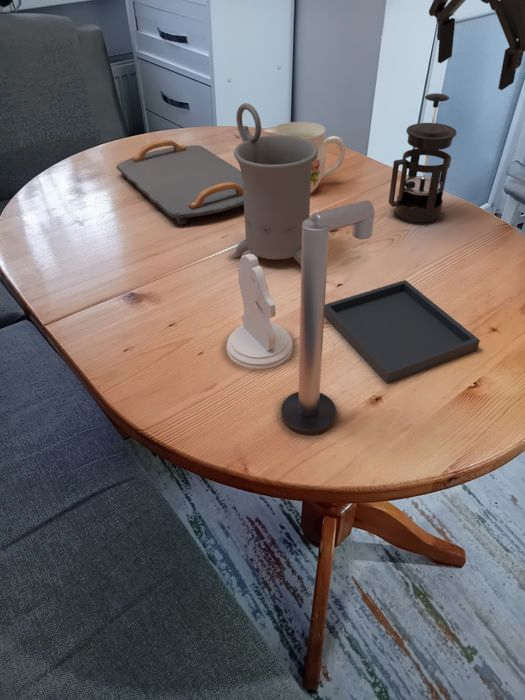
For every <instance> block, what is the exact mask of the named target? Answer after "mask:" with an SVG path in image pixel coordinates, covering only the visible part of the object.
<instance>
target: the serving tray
mask: <svg viewBox="0 0 525 700" xmlns="http://www.w3.org/2000/svg"><path fill="white" fill-rule="evenodd" d="M162 147H169V148H163V149H158V148H162ZM154 149H157V150H154ZM152 150H153V151H152ZM115 167H116V169H117V170H118V171H119V172H120V173H121V174H122V175H123V176H124V177H125V178H126V179H127V180H128V181H129V182H130V183H132V184H133V185H135V186H136V188H137V189H138V190H139V191H140V192H142V193H143V194H144V195H145V196H147V198H148V199H149V201H150V202H151V203H154V204H155V205H157V207H159V208H160V209H161V210H162V211H163V212H164V213H165V214H166V215H168V217H170V218H171V219H176V223H177V224H178V225H179V226H181V227H183V226H186V225H187V223H188V218H195V217H200V216H201V217H202V216H207V215H211V214H217V213H222V212H226V211H228V210H231V209H235V208H238V207H241V206H244V199H243V183H242V174H241V169H238V168H237V167H236V166H233V164H231V163H229V162H228V161H226V160H224V159H223V158H221V157H220V156H218V155H216V154H215V153H213V152H212V151H210V150H208V149H207V148H205V147H204V146H202V145H195V144H194V145H193V144H192V145H185V144H182V145H179V144H178V143H177V142H175V141H173V140H171V139H162V140H157V141H153V142H150V143H148V144H145V145H144V146H143V147H142V148H141V149H140V150H139V152H138V154H137V155H135V156H132V157H131V158H129V159H127V160H124V161H121V162H120V163H118V164H117V165H116V166H115Z"/></svg>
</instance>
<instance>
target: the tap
mask: <svg viewBox="0 0 525 700" xmlns="http://www.w3.org/2000/svg"><path fill="white" fill-rule="evenodd" d="M374 220H375V208H374V205H373V203H372V202H371V201H370V200H368V199H365V200H361V201H357V202H353V203H349V204H345V205H341V206H337V207H336V206H335V207H333V208H328V209H324V210H319V211H316V212H313V213H311V217H309V219H306V220H304V221H303V223H302V257H301V266H300V304H299V305H300V310H299V320H300V321H299V359H298V360H299V361H298V391H296V392H293V393H292V394H289V395H288V396H287V397H286V398H284V401H283V402H282V404H281V407H280V416H281V421H282V423H283V425H284V426H285V427H286V428H287V429H289V430H290V431H291V432H294V433H295V434H298V435H303V436H316V435H321V434H324V433H326V432H327V431H329V430H330V429H331V428H332V427H333V425H334V424H335V421H336V417H337V408H336V405H335V403H334V401H333V400H332V399H331V398H330V397H329V396H328V395H326V394H324V393H322V392H321V379H322V377H321V376H322V362H323V361H322V360H323V343H324V327H325V326H324V323H325V317H324V309H325V304H326V291H327V271H328V255H329V238H330V237H329V236H330V232H331V231H334V230H339V229H342V228H346V227H350V226H352V231H351V235H352V237H353V238H355V239H356V240H368V239H371V238H372V236H373V230H374V222H375V221H374Z"/></svg>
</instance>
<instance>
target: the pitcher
mask: <svg viewBox="0 0 525 700" xmlns="http://www.w3.org/2000/svg"><path fill="white" fill-rule="evenodd" d="M262 131H263V133H265V134H267V135H268V136H269V135H288V136H296V137H300V138H304V139H307V140H309V141H311V142H313V143H314V144H315V145H316V146H317V148H318V154H317V156H316V158H315V159H314V161H313V165H312V170H311V180H310V194H312V193H313V192H315V190H316V189H317V188H318V186H319V185H320V183H321V180H322V179H324V178H327V177H329V176H331V175H333V174H334V173H336V172H337V171H338V170H339V169H340V167H342V165H343V163H344V159H345V153H346V148H345V144H344V141H343V140H342V139H341V138H340V137H339V136H337V135H331V136H328V137H326V138H325V135H326V128H325V126H323V125H322V124H319V123H316V122H311V121H290V122H284V123H280V124H278V125H275V126H270V127H269V126H268V127H265V128H263V130H262ZM324 138H325V139H324ZM332 143H335V144H337V146H338V158H337V160H336V161H335V163H334V164H333V165H332V166H330V167H329V168H327V169H325V168H326V159H327V157H326V156H327V155H326V148H327V146H328V145H330V144H332Z"/></svg>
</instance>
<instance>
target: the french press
mask: <svg viewBox="0 0 525 700" xmlns="http://www.w3.org/2000/svg"><path fill="white" fill-rule="evenodd" d="M424 99H425V100H426V101H429V102H433V103H432V108H433V112H432V113H433V114H432V120H431V122H418V123H414V124H411V125H409V126H408V127H407V128H406V134H407V135H408V136H407V144H408V145H409V146H411V147H413V148H412V149H409V150H406V151H404V153H403V154H402V159H395V160H393V167H392V171H391V172H392V173H391V180H390V188H389V195H388V204H389V205H390V206H391V207H392V208H394V210H393V215H394V217H395V218H396V219H397V220H399V221H401V222H403V223H406V224H409V225H415V226H427V225H433V224H435V223H436V222H439V221H440V220H441V217H442V207H443V200H444V199H443V195H444V189H445V184H446V179H447V176H448V175H447V174H448V169H450V167H451V163H452V156H451V155H450V154H449V153H447V152H446V151H443V150H445V149H448V148H450V147H451V146H452V143H453V139H454V138H455V137H456V136H457V133H458V131H457V130H456V129H455V128H454V127H452V126H450V125H448V124H443V123H439V122H438V123H437V122H435V117H436V112H437V108H439V105H440V102H446V101H449V99H450V96H449V95H447V94H443V93H439V92H438V93H437V92H435V93H429V94H426V95H425V96H424ZM421 156H425V160H424V164H419V163H420V157H421ZM429 156H431V157H435V158H440V159H442V160H443V161H442V164H436V165H435V164H434V165H427V164H428V159H429ZM408 158H410V161H409V160H408ZM400 166H401V174H400V181H399V187H398V188H399V189H398V195H397V196H396V190H397V182H398V174H399V167H400ZM408 170H409V171H408ZM407 173H408V177H407ZM418 173H422V175H418ZM426 173H427V174H431V175H430V176H426ZM395 197H396V200H395ZM415 207H422V208H415Z"/></svg>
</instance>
